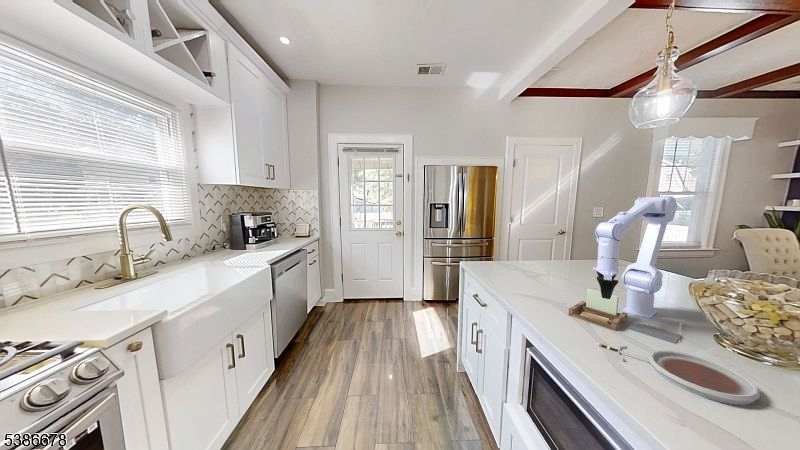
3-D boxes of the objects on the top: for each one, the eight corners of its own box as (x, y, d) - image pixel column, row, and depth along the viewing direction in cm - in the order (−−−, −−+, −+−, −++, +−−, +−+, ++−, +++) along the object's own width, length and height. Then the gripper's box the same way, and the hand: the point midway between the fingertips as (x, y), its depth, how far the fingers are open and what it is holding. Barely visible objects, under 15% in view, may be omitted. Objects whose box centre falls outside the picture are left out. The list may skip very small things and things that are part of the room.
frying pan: (600, 328, 80) (750, 368, 60) (600, 337, 80) (749, 380, 60) (590, 351, 68) (772, 410, 48) (590, 361, 68) (771, 425, 48)
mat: (634, 322, 87) (634, 321, 87) (681, 336, 78) (681, 334, 78) (626, 329, 83) (627, 327, 83) (675, 345, 74) (675, 343, 74)
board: (587, 311, 97) (588, 289, 96) (616, 320, 89) (618, 296, 88) (585, 312, 96) (586, 289, 95) (615, 321, 88) (617, 297, 87)
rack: (582, 308, 99) (582, 301, 99) (626, 321, 88) (627, 313, 88) (568, 316, 93) (568, 308, 92) (615, 331, 81) (615, 323, 81)
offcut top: (582, 314, 93) (582, 311, 93) (608, 321, 87) (609, 318, 87) (579, 317, 91) (580, 314, 91) (606, 325, 85) (607, 322, 85)
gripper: (593, 252, 95) (591, 286, 96) (593, 259, 84) (591, 298, 85) (618, 254, 91) (615, 290, 92) (621, 262, 79) (618, 303, 81)
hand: (605, 294), depth 88 cm, fingers open, 7 cm apart
